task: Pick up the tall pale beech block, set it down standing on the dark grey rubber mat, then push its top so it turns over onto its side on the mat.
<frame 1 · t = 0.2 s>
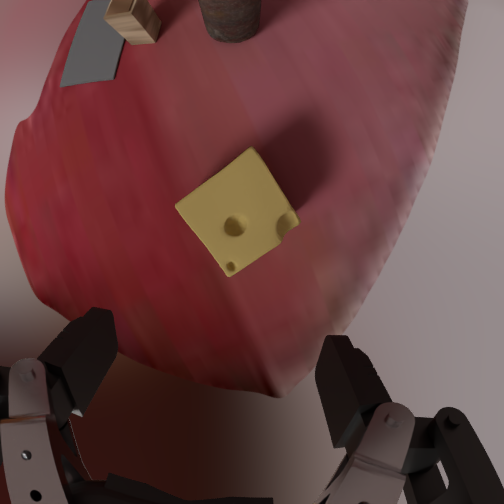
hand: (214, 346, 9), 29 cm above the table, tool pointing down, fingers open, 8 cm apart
cheese: (240, 203, 37), on the table
mat: (99, 35, 27), on the table
block: (146, 33, 28), on the table
brown rough cylinder: (233, 28, 29), on the table
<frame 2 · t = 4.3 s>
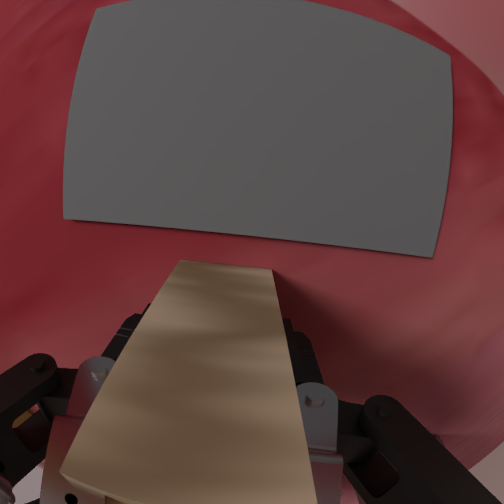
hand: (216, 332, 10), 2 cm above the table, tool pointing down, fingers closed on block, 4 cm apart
mat: (268, 102, 10), on the table
block: (222, 305, 12), on the table, touching gripper
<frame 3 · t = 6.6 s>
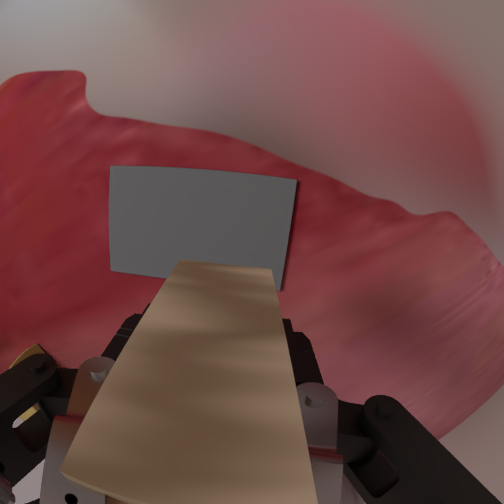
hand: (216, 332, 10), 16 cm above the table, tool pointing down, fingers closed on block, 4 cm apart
cheese: (48, 371, 33), on the table
mat: (193, 226, 26), on the table
block: (222, 304, 12), point 14 cm above the table, touching gripper
when the fingers open (4 cm above the table, at t = 9.1 s): block stays where it is, resting on mat.
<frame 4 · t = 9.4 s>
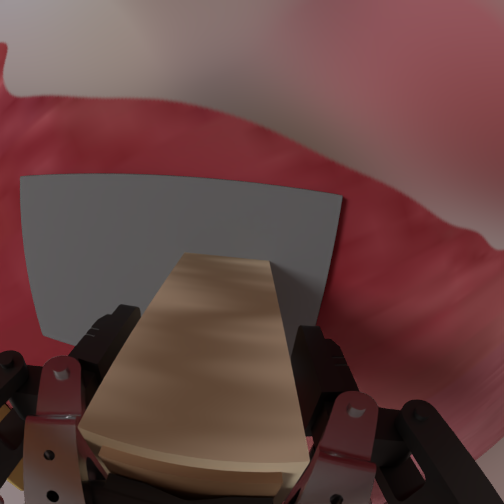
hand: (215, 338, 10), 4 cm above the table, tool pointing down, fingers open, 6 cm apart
cheese: (14, 420, 21), on the table
mat: (148, 281, 14), on the table
block: (223, 294, 13), resting on mat
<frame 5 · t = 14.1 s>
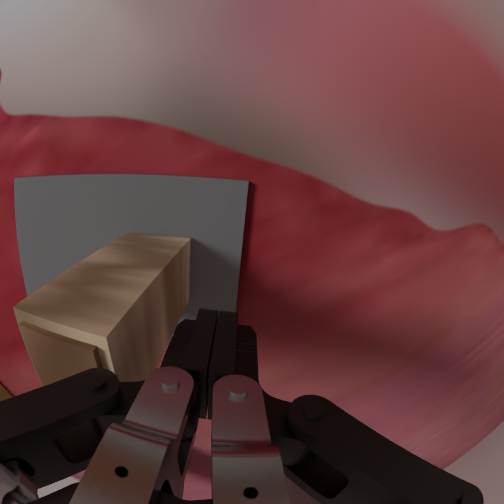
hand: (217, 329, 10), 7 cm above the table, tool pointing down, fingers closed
mat: (106, 257, 16), on the table
block: (158, 266, 16), resting on mat, touching gripper
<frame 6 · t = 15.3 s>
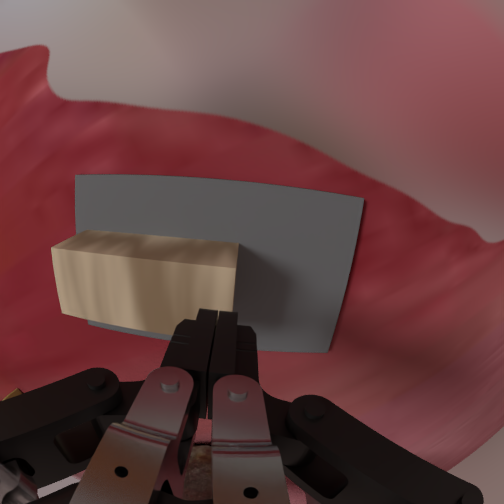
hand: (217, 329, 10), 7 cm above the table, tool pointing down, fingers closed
mat: (204, 269, 17), on the table
block: (234, 289, 15), point 2 cm above the table, tilted 90°, touching mat
brown rough cylinder: (203, 451, 24), on the table
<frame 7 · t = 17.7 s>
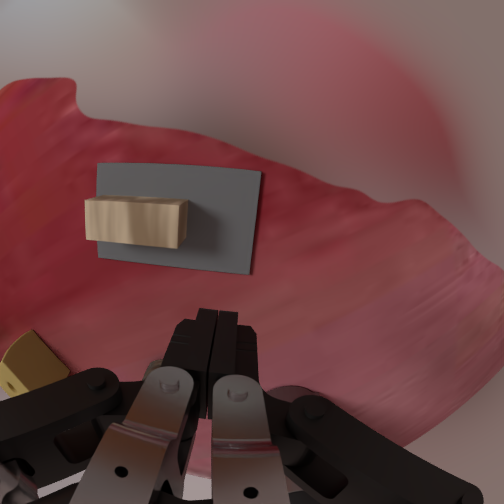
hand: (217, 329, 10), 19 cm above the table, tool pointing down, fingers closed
cheese: (43, 357, 35), on the table
mat: (170, 216, 28), on the table
block: (182, 222, 26), point 2 cm above the table, tilted 90°, touching mat
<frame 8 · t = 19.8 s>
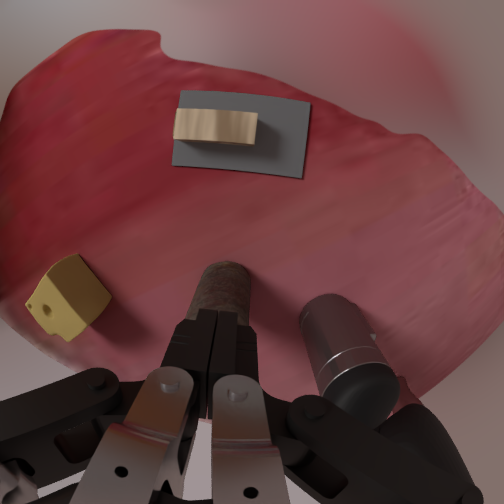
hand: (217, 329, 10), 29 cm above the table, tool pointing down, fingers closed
beer glass: (393, 385, 50), on the table
cheese: (82, 287, 42), on the table
mat: (240, 131, 35), on the table
block: (255, 130, 33), point 2 cm above the table, tilted 90°, touching mat
brown rough cylinder: (225, 280, 42), on the table
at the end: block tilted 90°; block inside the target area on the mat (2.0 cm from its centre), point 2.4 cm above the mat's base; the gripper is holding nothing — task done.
